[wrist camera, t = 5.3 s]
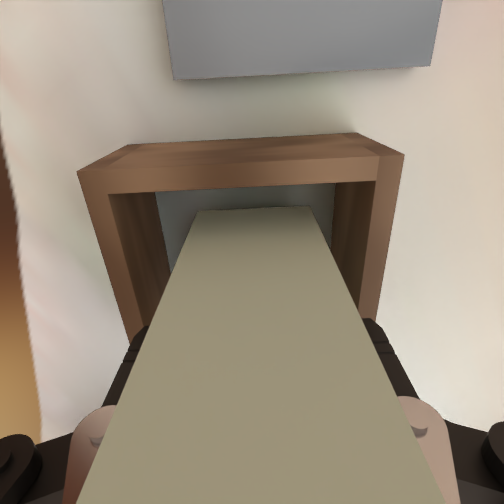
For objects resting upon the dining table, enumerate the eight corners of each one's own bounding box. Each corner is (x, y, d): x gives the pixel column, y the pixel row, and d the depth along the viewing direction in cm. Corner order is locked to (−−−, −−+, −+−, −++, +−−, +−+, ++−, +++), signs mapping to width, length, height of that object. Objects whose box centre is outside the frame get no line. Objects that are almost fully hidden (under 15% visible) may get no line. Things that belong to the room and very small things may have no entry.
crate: (356, 132, 15) (404, 154, 10) (338, 314, 20) (364, 381, 15) (127, 144, 15) (76, 171, 10) (167, 321, 20) (144, 391, 15)
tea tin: (312, 203, 14) (662, 923, 2) (307, 298, 16) (454, 874, 5) (195, 208, 14) (-119, 916, 2) (208, 302, 17) (95, 874, 5)
